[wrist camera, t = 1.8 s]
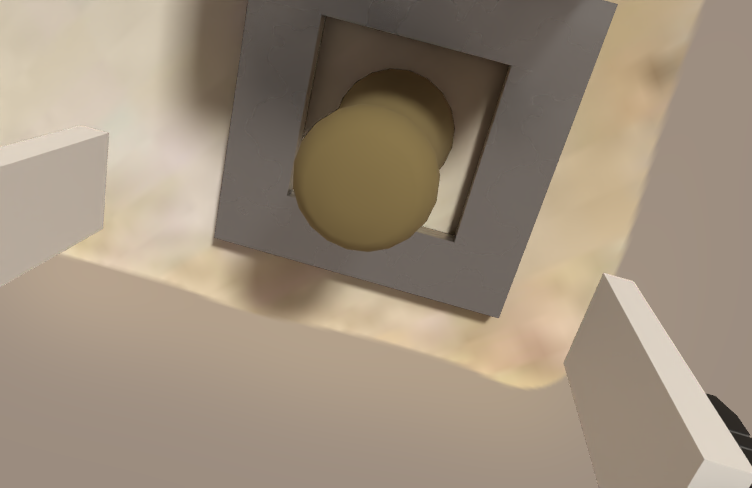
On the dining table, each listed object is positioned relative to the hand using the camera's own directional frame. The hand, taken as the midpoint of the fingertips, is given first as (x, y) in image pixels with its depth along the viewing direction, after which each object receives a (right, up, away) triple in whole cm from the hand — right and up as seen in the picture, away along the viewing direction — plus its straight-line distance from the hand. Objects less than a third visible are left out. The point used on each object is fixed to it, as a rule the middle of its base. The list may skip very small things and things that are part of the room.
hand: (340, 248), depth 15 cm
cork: (+2, +6, +14) cm, 16 cm away
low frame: (+2, +6, +14) cm, 15 cm away
